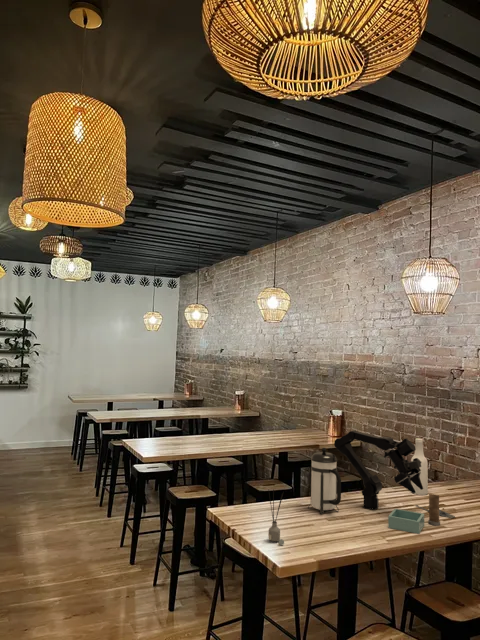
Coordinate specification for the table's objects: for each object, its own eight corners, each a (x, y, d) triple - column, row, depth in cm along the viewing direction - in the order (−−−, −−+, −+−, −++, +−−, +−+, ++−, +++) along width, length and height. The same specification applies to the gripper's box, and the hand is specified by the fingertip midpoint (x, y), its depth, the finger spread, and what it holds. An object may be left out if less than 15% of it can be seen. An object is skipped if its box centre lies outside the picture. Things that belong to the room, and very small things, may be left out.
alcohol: (425, 496, 263) (425, 440, 265) (409, 493, 268) (409, 439, 270) (429, 492, 271) (429, 438, 273) (413, 490, 275) (413, 437, 278)
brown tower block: (426, 523, 219) (426, 494, 220) (430, 521, 223) (430, 492, 224) (437, 526, 216) (437, 496, 217) (441, 523, 220) (441, 494, 221)
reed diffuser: (262, 538, 196) (263, 488, 198) (274, 535, 201) (275, 486, 202) (279, 547, 188) (280, 494, 190) (291, 543, 193) (292, 492, 194)
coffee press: (304, 513, 230) (305, 449, 232) (312, 503, 245) (312, 444, 247) (340, 518, 224) (341, 452, 226) (346, 508, 238) (346, 447, 241)
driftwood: (457, 519, 228) (457, 514, 228) (446, 520, 226) (446, 516, 226) (425, 506, 247) (425, 502, 248) (415, 508, 245) (415, 503, 245)
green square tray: (388, 527, 213) (388, 516, 213) (394, 519, 224) (394, 508, 224) (419, 533, 206) (419, 521, 207) (424, 525, 217) (424, 513, 218)
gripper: (403, 455, 223) (424, 486, 215) (419, 450, 237) (439, 479, 229) (385, 467, 228) (405, 498, 221) (401, 461, 242) (421, 490, 235)
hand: (418, 491), depth 226 cm, fingers open, 9 cm apart
